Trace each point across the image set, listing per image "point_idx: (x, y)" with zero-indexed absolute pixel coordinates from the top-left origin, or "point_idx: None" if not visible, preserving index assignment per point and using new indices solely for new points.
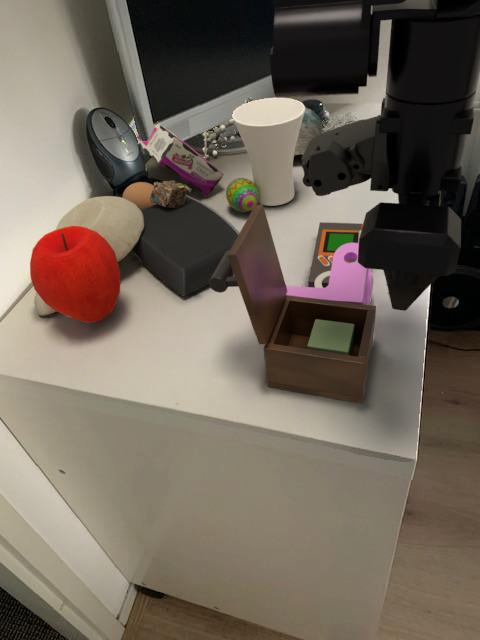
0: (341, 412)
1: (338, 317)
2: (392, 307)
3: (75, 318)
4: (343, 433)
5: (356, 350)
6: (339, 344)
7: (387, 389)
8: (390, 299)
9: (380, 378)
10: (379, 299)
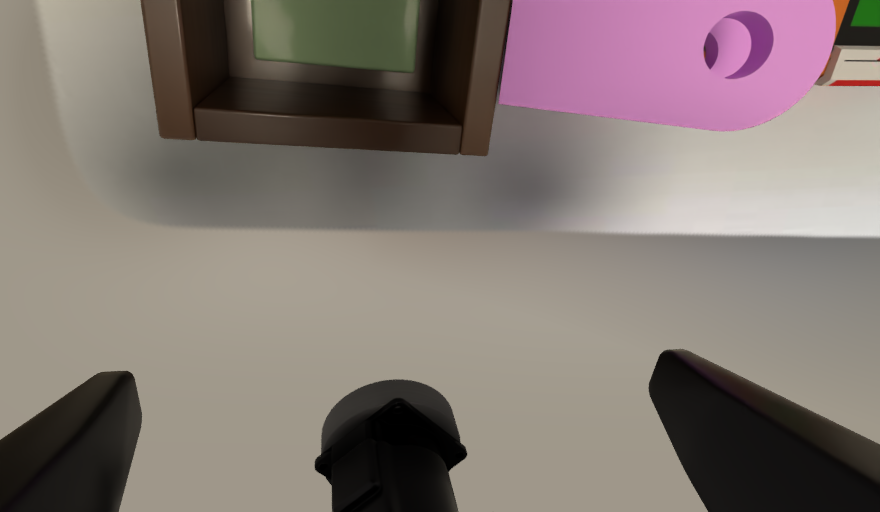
0: None
1: (464, 1)
2: (93, 378)
3: None
4: (75, 46)
5: None
6: (289, 19)
7: (285, 161)
8: (18, 427)
9: None
10: (633, 121)
